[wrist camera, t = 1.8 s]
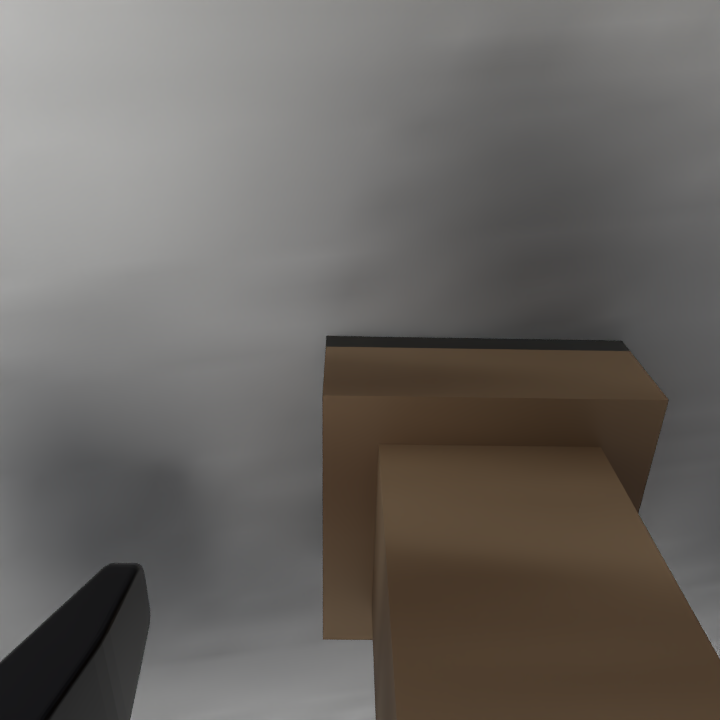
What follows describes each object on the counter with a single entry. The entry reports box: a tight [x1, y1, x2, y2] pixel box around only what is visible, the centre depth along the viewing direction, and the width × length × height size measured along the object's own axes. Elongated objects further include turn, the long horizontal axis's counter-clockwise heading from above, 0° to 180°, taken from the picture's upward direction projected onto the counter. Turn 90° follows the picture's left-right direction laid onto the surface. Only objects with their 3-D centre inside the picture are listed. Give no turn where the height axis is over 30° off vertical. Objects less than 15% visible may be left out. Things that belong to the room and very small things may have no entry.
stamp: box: [323, 336, 720, 720], centre depth 9 cm, size 4×4×6 cm
